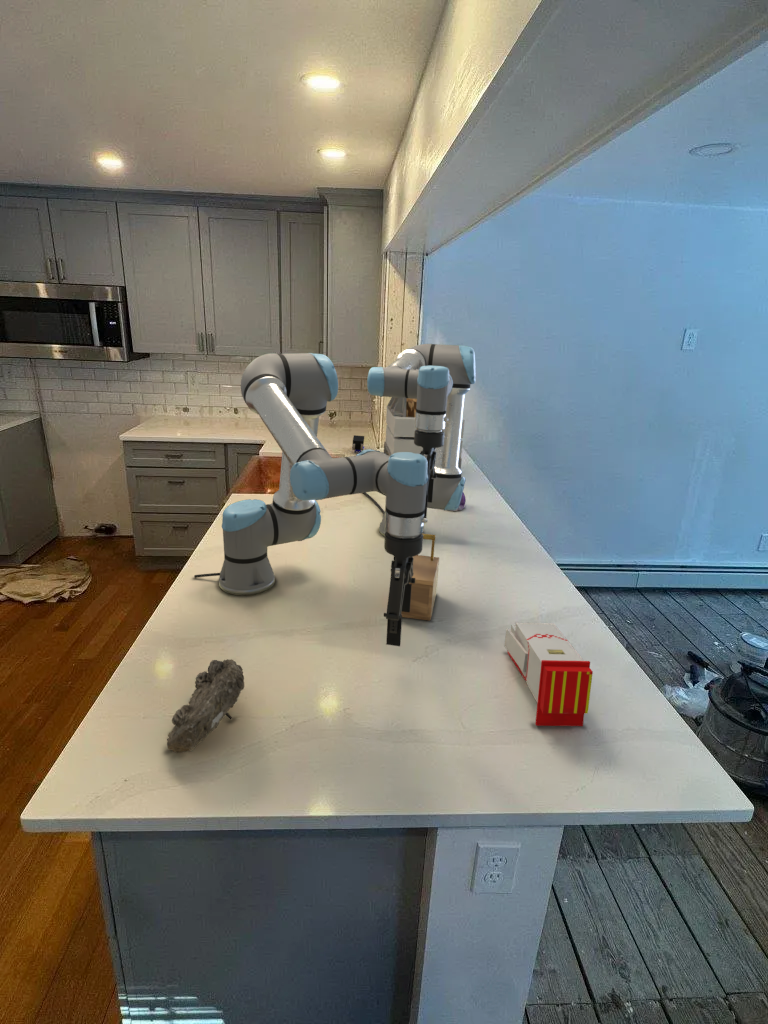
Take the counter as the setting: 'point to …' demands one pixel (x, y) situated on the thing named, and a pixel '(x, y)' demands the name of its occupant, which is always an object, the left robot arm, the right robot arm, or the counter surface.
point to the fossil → (206, 705)
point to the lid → (425, 565)
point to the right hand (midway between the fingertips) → (424, 509)
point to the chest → (422, 600)
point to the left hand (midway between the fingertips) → (398, 626)
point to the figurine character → (358, 443)
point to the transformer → (405, 428)
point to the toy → (551, 672)
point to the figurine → (461, 503)
